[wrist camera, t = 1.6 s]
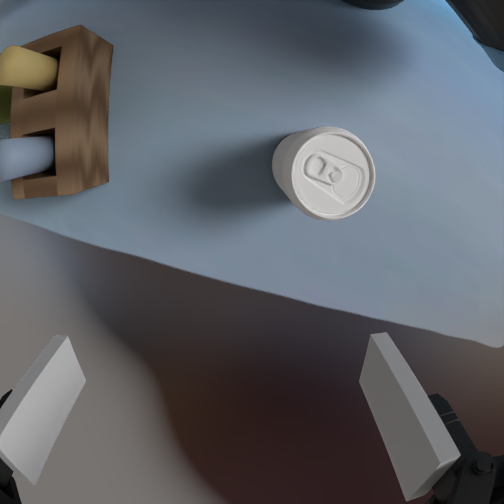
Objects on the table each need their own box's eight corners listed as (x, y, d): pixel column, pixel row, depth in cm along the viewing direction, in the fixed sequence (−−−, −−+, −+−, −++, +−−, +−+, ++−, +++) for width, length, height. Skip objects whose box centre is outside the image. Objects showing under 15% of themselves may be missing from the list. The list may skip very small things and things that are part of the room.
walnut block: (56, 60, 27) (18, 47, 19) (113, 45, 28) (80, 24, 19) (53, 186, 34) (13, 199, 25) (108, 181, 34) (72, 194, 25)
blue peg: (35, 138, 25) (-12, 143, 17) (60, 133, 25) (13, 135, 18) (36, 171, 26) (-10, 184, 19) (61, 168, 26) (15, 179, 19)
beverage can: (319, 210, 36) (352, 240, 25) (259, 180, 35) (266, 198, 23) (349, 151, 34) (395, 157, 22) (290, 119, 32) (312, 107, 21)
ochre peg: (40, 64, 22) (-4, 52, 14) (66, 55, 22) (23, 39, 14) (37, 94, 23) (-9, 89, 16) (62, 87, 23) (17, 78, 16)
